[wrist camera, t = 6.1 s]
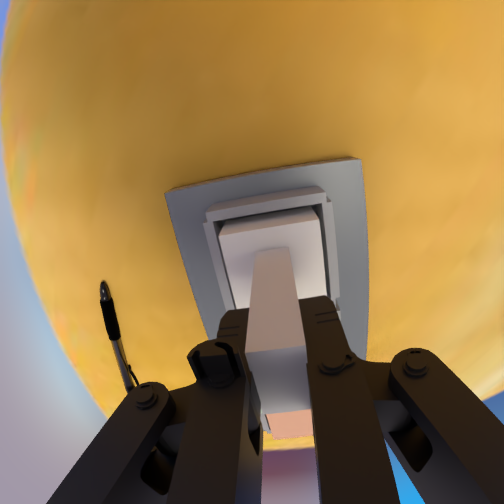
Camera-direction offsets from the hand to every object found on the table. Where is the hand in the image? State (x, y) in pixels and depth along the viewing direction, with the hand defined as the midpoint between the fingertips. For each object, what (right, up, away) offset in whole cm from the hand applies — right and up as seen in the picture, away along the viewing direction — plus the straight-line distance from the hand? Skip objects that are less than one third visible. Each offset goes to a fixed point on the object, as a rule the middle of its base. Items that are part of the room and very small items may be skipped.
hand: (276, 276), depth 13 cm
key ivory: (0, +1, +3) cm, 3 cm away
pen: (-12, -7, +10) cm, 17 cm away
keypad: (+1, -4, +7) cm, 8 cm away
